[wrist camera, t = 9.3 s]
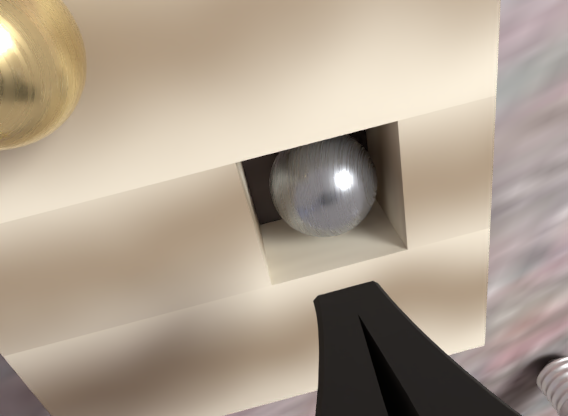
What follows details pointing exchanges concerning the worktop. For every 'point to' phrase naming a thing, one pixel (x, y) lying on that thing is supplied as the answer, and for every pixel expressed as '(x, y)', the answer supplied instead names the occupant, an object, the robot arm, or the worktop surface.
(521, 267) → the worktop surface
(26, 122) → the brass ball
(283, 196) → the steel ball
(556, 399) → the lightbulb
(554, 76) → the worktop surface
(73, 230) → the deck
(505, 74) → the worktop surface
